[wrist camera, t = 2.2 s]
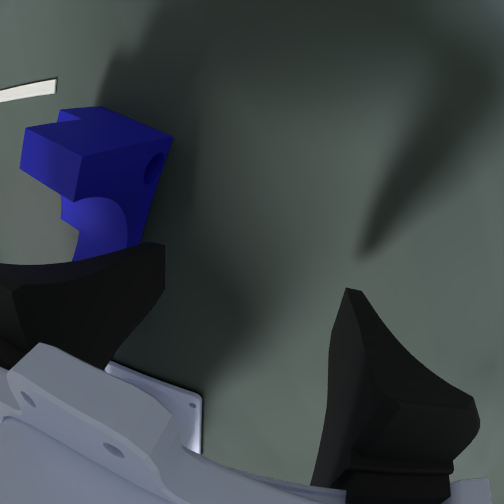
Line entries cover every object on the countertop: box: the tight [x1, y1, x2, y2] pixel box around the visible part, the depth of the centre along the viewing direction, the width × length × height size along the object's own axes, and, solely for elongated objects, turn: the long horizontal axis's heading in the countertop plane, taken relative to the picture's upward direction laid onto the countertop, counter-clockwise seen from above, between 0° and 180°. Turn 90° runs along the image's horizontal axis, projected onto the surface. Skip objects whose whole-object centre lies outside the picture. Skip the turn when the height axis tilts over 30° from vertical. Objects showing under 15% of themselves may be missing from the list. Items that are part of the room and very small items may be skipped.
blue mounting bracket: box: [20, 107, 173, 261], centre depth 13 cm, size 12×4×6 cm, turn 156°
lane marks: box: [0, 79, 57, 102], centre depth 17 cm, size 16×9×1 cm, turn 173°
